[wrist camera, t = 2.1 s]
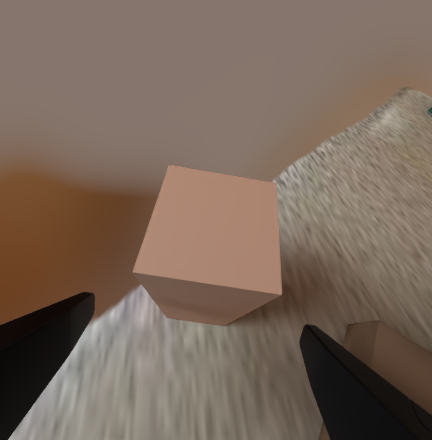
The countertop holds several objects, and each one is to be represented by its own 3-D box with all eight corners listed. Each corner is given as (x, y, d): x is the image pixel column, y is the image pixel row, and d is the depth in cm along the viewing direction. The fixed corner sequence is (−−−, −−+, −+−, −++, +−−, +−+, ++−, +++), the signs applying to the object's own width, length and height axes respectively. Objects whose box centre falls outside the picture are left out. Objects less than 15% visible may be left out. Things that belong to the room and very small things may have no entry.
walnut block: (462, 579, 13) (564, 665, 9) (311, 455, 15) (349, 488, 11) (458, 398, 17) (523, 411, 14) (345, 324, 20) (379, 320, 16)
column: (223, 326, 18) (282, 294, 7) (166, 317, 18) (132, 272, 7) (228, 270, 21) (276, 183, 10) (179, 262, 20) (169, 164, 9)
